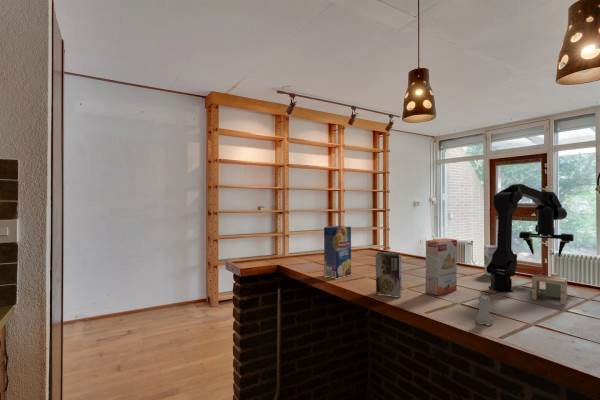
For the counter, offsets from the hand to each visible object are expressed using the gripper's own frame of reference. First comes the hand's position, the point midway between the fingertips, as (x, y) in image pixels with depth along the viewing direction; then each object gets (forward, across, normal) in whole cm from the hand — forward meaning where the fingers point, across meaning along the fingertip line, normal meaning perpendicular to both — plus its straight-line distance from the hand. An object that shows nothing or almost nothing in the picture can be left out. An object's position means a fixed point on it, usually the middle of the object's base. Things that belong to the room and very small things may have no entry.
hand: (545, 255), depth 141 cm
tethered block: (+12, -4, +16) cm, 20 cm away
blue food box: (+12, +76, +52) cm, 92 cm away
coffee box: (+12, +42, +63) cm, 77 cm away
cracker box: (+12, +29, +45) cm, 55 cm away
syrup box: (+12, +21, 0) cm, 24 cm away
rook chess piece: (+12, +8, +70) cm, 72 cm away
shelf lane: (+12, -4, +28) cm, 31 cm away
